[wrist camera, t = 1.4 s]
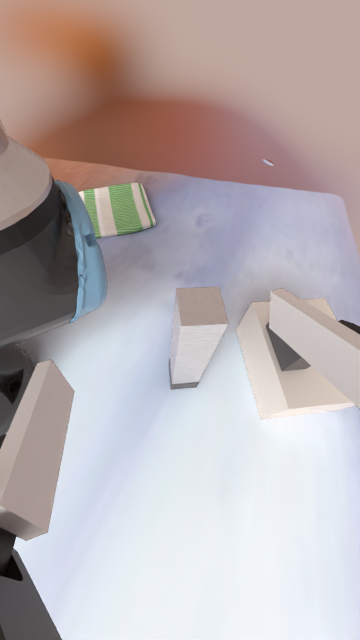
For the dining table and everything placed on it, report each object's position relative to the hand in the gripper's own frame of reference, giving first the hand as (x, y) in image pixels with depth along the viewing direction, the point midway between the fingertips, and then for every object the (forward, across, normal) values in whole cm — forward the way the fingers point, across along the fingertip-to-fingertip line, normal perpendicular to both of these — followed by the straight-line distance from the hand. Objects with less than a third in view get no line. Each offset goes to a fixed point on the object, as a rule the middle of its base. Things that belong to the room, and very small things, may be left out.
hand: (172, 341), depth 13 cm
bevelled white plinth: (+10, +16, -20) cm, 27 cm away
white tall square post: (+12, +1, -16) cm, 21 cm away
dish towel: (+50, -5, +3) cm, 50 cm away
